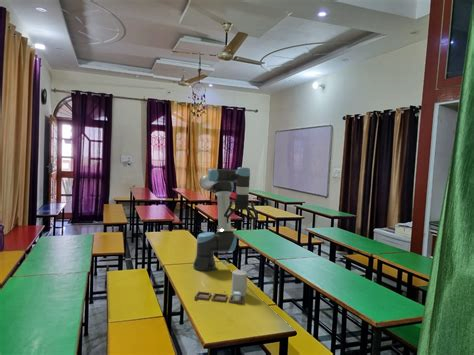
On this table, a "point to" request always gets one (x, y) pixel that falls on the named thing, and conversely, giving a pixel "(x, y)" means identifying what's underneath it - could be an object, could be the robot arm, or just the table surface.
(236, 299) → the letter cube
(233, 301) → the tray
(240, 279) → the cup
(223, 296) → the tray
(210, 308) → the table surface
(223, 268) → the table surface
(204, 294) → the tray
